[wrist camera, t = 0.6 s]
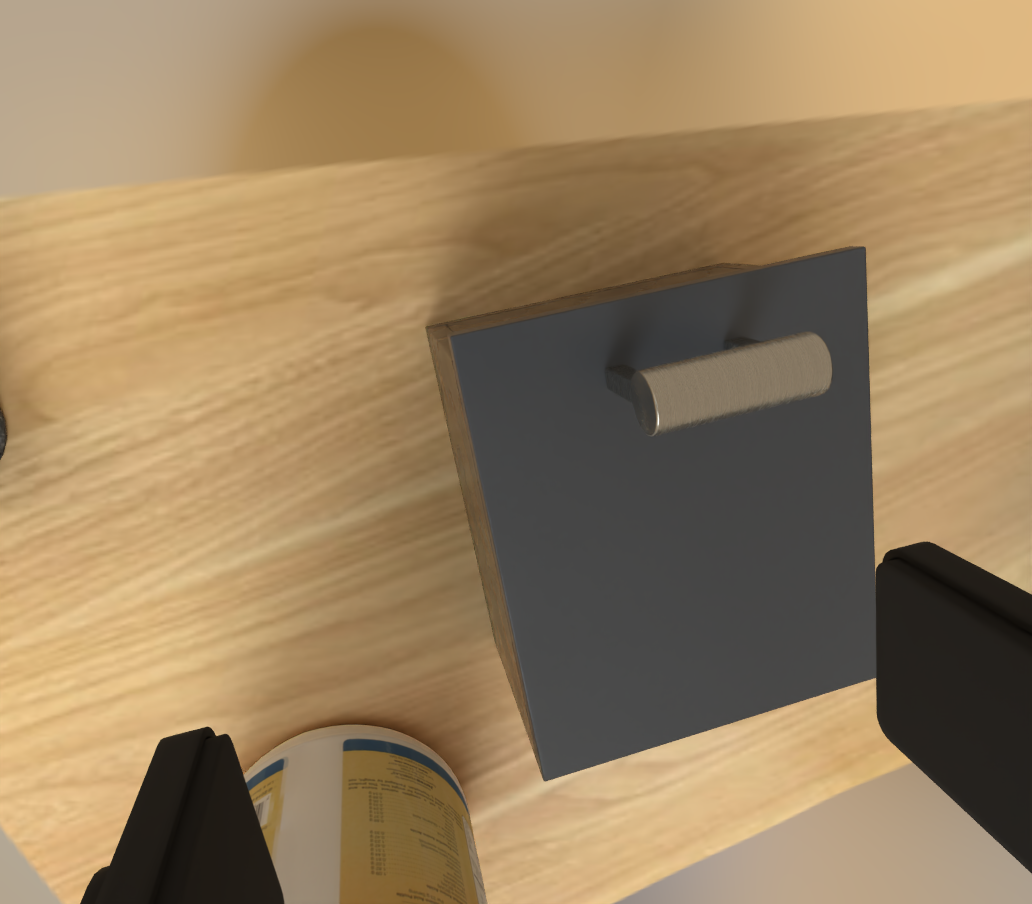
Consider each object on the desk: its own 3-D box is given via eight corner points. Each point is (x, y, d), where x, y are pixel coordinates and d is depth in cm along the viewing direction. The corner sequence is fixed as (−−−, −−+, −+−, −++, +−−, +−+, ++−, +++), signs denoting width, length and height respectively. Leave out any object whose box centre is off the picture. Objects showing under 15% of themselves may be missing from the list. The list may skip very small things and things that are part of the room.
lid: (446, 333, 22) (472, 359, 17) (850, 245, 24) (978, 247, 19) (538, 767, 27) (579, 883, 22) (865, 666, 29) (968, 752, 24)
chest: (425, 326, 30) (451, 358, 22) (723, 262, 32) (850, 270, 24) (495, 643, 35) (538, 766, 27) (751, 571, 37) (864, 665, 29)
